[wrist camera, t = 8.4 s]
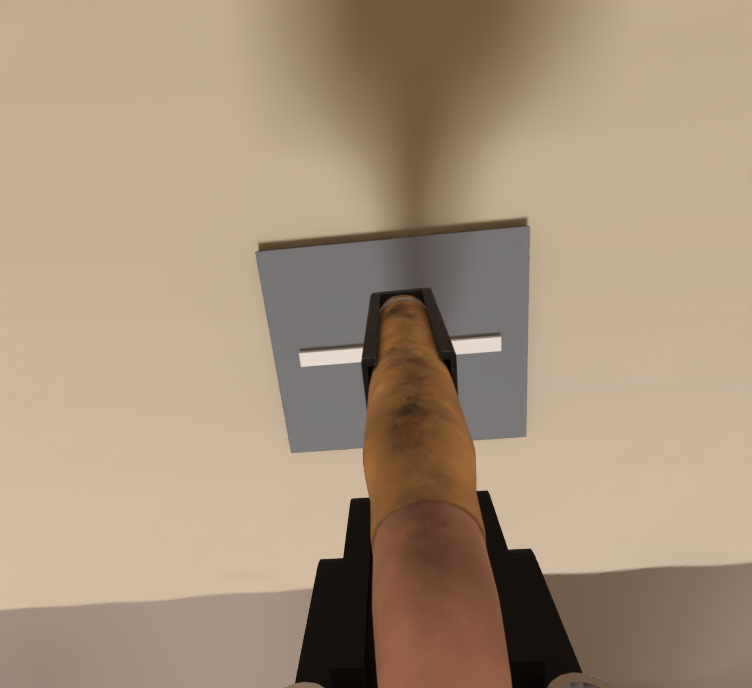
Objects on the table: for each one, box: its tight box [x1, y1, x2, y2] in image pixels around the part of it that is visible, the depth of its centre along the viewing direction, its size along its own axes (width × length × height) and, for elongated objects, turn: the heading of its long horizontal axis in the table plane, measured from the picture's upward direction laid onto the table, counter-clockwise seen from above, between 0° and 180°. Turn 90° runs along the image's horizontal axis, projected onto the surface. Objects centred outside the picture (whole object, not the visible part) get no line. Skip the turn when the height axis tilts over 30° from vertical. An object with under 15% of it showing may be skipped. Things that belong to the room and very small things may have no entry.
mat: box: [255, 226, 530, 453], centre depth 24 cm, size 14×12×1 cm
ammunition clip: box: [361, 287, 512, 688], centre depth 9 cm, size 11×2×12 cm, turn 6°
